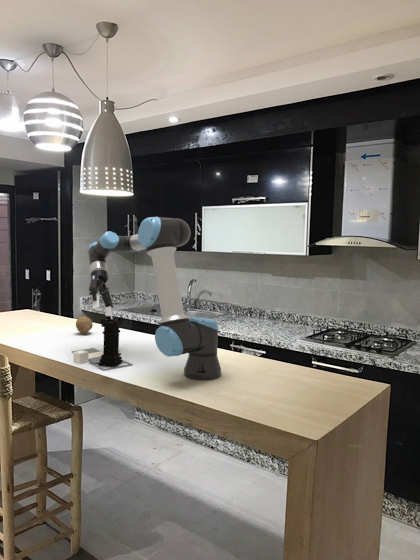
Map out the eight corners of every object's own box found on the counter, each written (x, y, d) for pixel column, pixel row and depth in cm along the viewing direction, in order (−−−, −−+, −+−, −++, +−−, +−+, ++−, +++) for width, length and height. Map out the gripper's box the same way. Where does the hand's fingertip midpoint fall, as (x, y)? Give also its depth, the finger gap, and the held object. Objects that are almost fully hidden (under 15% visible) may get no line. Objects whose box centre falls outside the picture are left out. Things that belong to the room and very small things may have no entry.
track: (117, 360, 201) (117, 358, 200) (94, 364, 193) (94, 363, 193) (93, 348, 219) (93, 347, 219) (71, 352, 212) (71, 351, 212)
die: (88, 362, 197) (88, 351, 196) (79, 364, 193) (79, 353, 193) (82, 360, 200) (82, 349, 199) (73, 362, 196) (73, 351, 196)
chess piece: (115, 367, 189) (116, 321, 186) (98, 365, 191) (99, 319, 188) (123, 361, 197) (124, 317, 194) (106, 359, 199) (107, 315, 196)
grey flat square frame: (132, 365, 193) (132, 364, 193) (103, 370, 184) (103, 369, 184) (117, 358, 203) (117, 357, 203) (89, 363, 195) (89, 362, 195)
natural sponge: (82, 331, 256) (82, 314, 255) (96, 333, 253) (95, 315, 252) (72, 334, 247) (72, 317, 246) (86, 336, 244) (85, 318, 243)
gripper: (102, 287, 217) (106, 326, 207) (78, 262, 196) (81, 305, 185) (117, 282, 217) (122, 322, 206) (94, 257, 195) (98, 300, 185)
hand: (103, 314), depth 196 cm, fingers open, 13 cm apart
